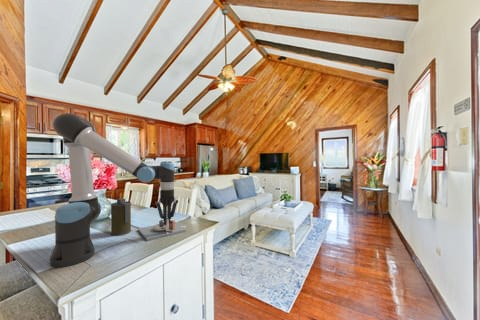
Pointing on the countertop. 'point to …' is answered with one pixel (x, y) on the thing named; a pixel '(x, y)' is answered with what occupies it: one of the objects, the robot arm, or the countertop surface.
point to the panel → (151, 235)
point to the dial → (161, 226)
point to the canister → (120, 217)
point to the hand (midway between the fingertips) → (166, 230)
